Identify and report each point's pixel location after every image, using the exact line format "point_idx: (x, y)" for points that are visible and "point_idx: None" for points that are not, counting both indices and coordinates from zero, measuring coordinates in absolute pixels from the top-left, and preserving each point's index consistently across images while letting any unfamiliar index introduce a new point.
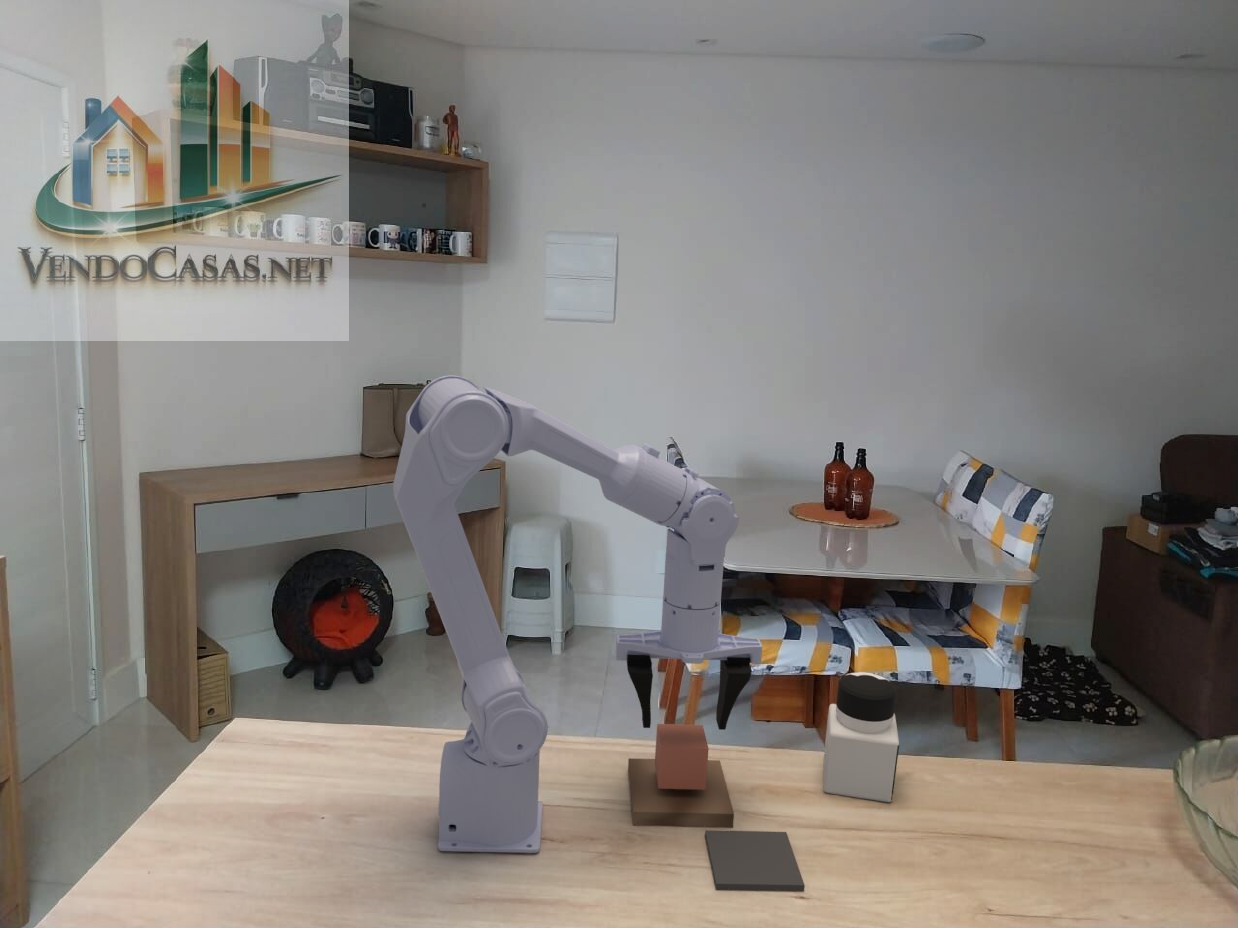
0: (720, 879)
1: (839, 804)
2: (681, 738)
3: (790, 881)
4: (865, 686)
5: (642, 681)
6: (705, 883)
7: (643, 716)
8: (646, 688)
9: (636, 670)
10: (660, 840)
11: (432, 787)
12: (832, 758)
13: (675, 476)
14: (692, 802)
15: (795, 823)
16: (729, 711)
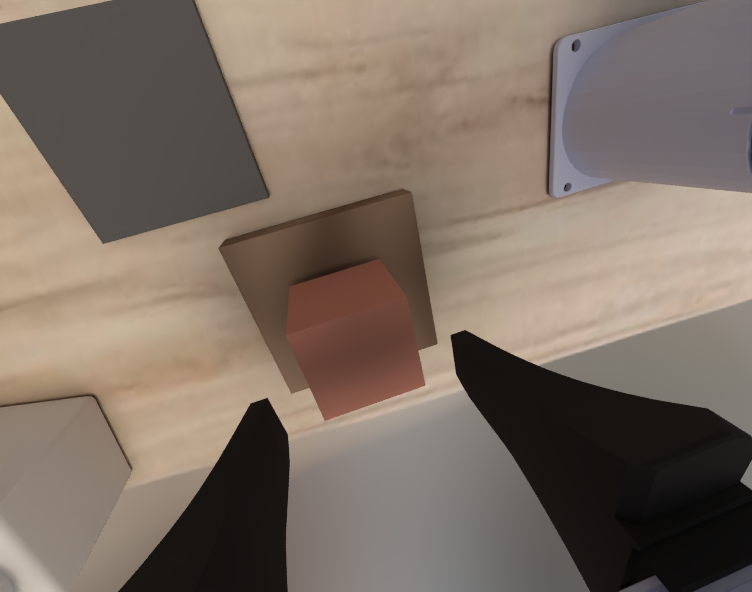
0: (182, 8)
1: (49, 374)
2: (362, 352)
3: (5, 42)
4: None
5: (624, 418)
6: (222, 15)
7: (489, 343)
8: (566, 404)
9: (719, 459)
10: (347, 155)
11: (689, 195)
12: (30, 456)
13: None
14: (309, 257)
15: (109, 291)
16: (224, 453)
